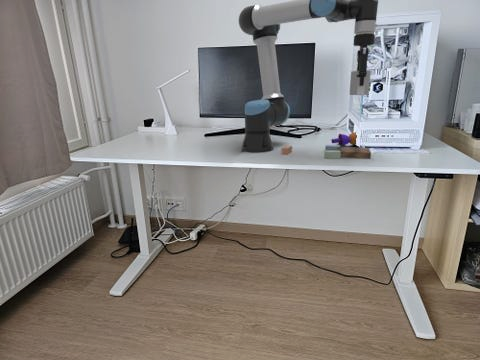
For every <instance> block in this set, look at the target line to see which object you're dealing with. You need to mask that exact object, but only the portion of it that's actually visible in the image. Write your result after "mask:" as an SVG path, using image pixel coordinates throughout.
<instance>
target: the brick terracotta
mask: <svg viewBox="0 0 480 360" xmlns="http://www.w3.org/2000/svg"><path fill="white" fill-rule="evenodd" d="M280 151H281V152H280V153H281V155H290V154H291V153H292V152H293V146H292V145H284V146H282V147H281V150H280Z"/></svg>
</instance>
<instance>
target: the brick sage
mask: <svg viewBox="0 0 480 360" xmlns="http://www.w3.org/2000/svg"><path fill="white" fill-rule="evenodd" d="M340 157H341V152H340V151H325V150H324V159H326V160H327V159H328V160H329V159H332V160H336V159H338V160H339V159H341V158H340Z"/></svg>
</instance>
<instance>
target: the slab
mask: <svg viewBox="0 0 480 360" xmlns="http://www.w3.org/2000/svg"><path fill="white" fill-rule="evenodd" d="M340 152H341V157H340V159H344V158H346V159H347V158H348V159H370V160H371V157H372V156H371V155H372V152H371V149H370V148H369V147H356V146H355V147H354V146H353V147H350V146H340Z"/></svg>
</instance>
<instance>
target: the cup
mask: <svg viewBox="0 0 480 360" xmlns="http://www.w3.org/2000/svg"><path fill="white" fill-rule="evenodd" d="M371 71H372V70H367V74H366V80H365V91H364V95H363V96H367V95H369V92H370V82H371ZM357 75H359V71H357V70H353V71H351V70H350V83H349V95H350V96H358V95H357V85H358V77H357Z"/></svg>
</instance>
